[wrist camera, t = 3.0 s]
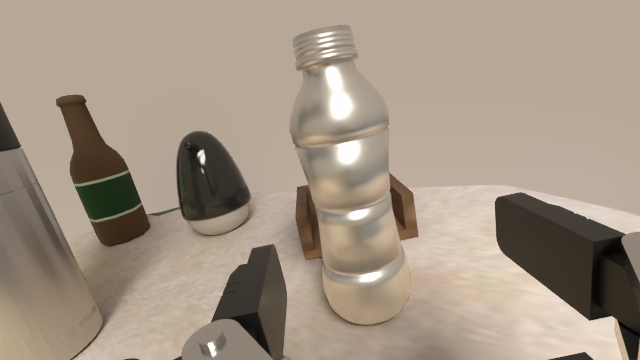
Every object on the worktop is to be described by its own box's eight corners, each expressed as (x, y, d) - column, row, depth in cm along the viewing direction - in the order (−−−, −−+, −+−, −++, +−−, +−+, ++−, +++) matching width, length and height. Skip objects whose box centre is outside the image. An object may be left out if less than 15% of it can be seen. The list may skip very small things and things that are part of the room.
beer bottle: (152, 233, 51) (96, 88, 45) (98, 252, 48) (29, 98, 41) (150, 222, 58) (100, 94, 51) (102, 238, 54) (43, 103, 48)
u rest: (305, 260, 32) (295, 217, 31) (305, 219, 43) (297, 187, 42) (418, 236, 32) (412, 193, 31) (389, 201, 43) (384, 168, 42)
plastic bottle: (320, 296, 26) (261, 53, 21) (389, 271, 28) (352, 37, 22) (346, 352, 20) (273, 28, 15) (433, 316, 21) (396, 9, 16)
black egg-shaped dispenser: (181, 251, 42) (142, 143, 37) (199, 222, 51) (170, 135, 47) (254, 233, 42) (223, 126, 38) (258, 208, 52) (234, 121, 48)
